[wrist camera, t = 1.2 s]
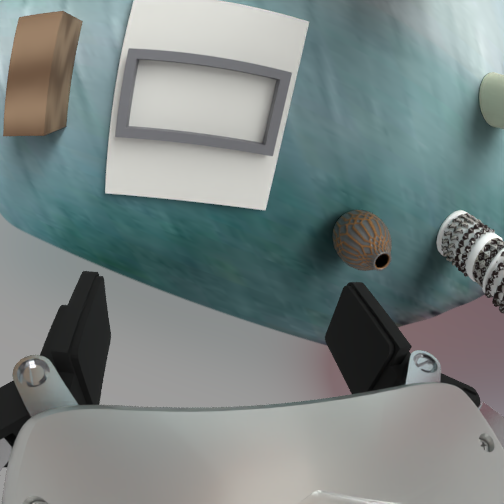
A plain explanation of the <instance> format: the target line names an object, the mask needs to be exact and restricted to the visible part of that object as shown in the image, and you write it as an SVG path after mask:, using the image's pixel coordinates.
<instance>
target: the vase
mask: <svg viewBox="0 0 504 504" xmlns="http://www.w3.org/2000/svg"><path fill="white" fill-rule="evenodd" d="M333 244H334V248H335V250H336V252H337V254H338V255H339V257H340V258H341V259H342V260H343V261H344V262H345V263H346V264H347V265H349V266H351V267H353V268H355V269H358V270H364V271H366V270H383V269H385V268H386V267H387V266H388V265H389V264H390V262H391V254H390V252H391V236H390V233H389V230H388V228H387V227H386V225H385V224H384V222H383V221H382V220H381V219H380V218H379V217H377V216H376V215H374V214H373V213H371V212H368V211H364V210H353V211H349V212H347V213H345V214H344V215H343V216H341V217H340V218H339V220H338V221H337V222H336V224H335V226H334V229H333Z"/></svg>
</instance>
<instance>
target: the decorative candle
mask: <svg viewBox="0 0 504 504" xmlns="http://www.w3.org/2000/svg"><path fill="white" fill-rule="evenodd" d="M494 233H495V232H494V230H493V229H490V228H489V227H488V226H487V225H484V224H483V223H481V221H480V220H479V219H476V218H475V217H474V216H473V215H470V214H468V213H467V212H465V211H462V210H459V211H455V212H453V213H452V214H450V215H449V216H448V217H447V218H446V219H445V221H444V222H443V223H442V225H441V227H440V229H439V232H438V235H437V241H436V244H437V250H438V251H439V252H440V253H441V255H443V256H444V257H445V256H447V258H446V260H449V261H450V262H451V261H452V265H455V266H456V267H457V268H458V270H459V271H461V272H462V273H464V276H465V277H467V276H469V277H470V278H471V279H472V280H473V281H474V282H477V283H478V284H479V285H480V286H481V287H482V288H483V292H484V293H485V295H486V296H487V297H488V298H490V297H493V304H494V306H496V307H497V306H500V307H499V310H500V312H501V313H504V241H502V238H501V237H499V236H498V235H496V234H494Z"/></svg>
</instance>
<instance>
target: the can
mask: <svg viewBox="0 0 504 504" xmlns="http://www.w3.org/2000/svg"><path fill="white" fill-rule="evenodd" d="M479 102H480V108H481V112H482V115H483V117H484V119H485V120H486V122H487V123H488V124H489V125H490V126H492V127H498V128H501V129H504V75H501V74H497V73H494V72H492V73H488V74H487V75H486V76H485V77H484V78H483V80H482V83H481V86H480V91H479Z"/></svg>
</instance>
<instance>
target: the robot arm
mask: <svg viewBox="0 0 504 504" xmlns="http://www.w3.org/2000/svg"><path fill="white" fill-rule="evenodd" d="M110 339H111V332H110V325H109V318H108V311H107V303H106V295H105V285H104V278H103V276H99V274H98V272H89V271H83V272H82V274H81V276H80V279H79V281H78V283H77V285H76V287H75V290H74V292H73V294H72V296H71V299H70V301H69V304H68V305H61V306H60V308H59V310H58V312H57V315H56V317H55V319H54V321H53V324H52V326H51V329H50V331H49V333H48V336H47V338H46V341H45V343H44V346H43V349H42V351H41V354H40V355H30V356H27V357H25V358H23V359H21V360H20V361H19V362H18V363H17V364H16V365H15V367H14V370H13V379H14V381H12V382H10V383H8V384H6V385H4V386H2V387H1V388H0V471H1V469H2V468H3V467H7V471H6V477H5V483H4V490H3V497H2V504H47V503H48V504H504V417H503V416H501V415H500V414H499V413H498V412H496V411H495V410H493V409H492V408H491V407H489V406H488V405H487V404H485V403H484V402H483V403H482V404H480V398H479V395H478V393H477V392H476V390H475V389H474V388H472V387H470V386H468V385H466V384H464V383H462V382H459V381H457V380H455V379H453V378H450V377H448V376H446V375H444V374H441V366H440V363H439V361H438V360H437V359H436V358H435V357H434V356H433V355H431V354H430V353H428V352H425V351H415V352H413V353H412V354H410V352H409V350H410V348H411V345H410V344H409V342H408V341H407V340H406V338H405V337H404V336H403V334H402V333H401V331H400V330H399V329H398V327H397V326H396V325H395V323H394V322H393V321H392V319H391V318H390V317H389V316H388V314H387V313H386V312H385V310H384V309H383V308H382V306H381V305H380V304H379V303H378V301H377V300H376V299H375V297H374V296H373V295H372V294H371V292H370V291H369V290H368V289H367V287H366V286H365V285H364V284H363V283H361V282H350V283H348V284H347V286H345V287H344V288H343V290H342V293H341V296H340V298H339V301H338V304H337V307H336V309H335V312H334V314H333V317H332V320H331V322H330V325H329V327H328V330H327V332H326V336H325V340H326V343H327V345H328V347H329V349H330V351H331V353H332V355H333V357H334V359H335V361H336V363H337V365H338V367H339V369H340V371H341V373H342V375H343V377H344V379H345V381H346V383H347V385H348V387H349V389H350V391H351V393H352V395H345V396H339V397H332V398H325V399H318V400H310V401H301V402H292V403H282V404H271V405H257V406H239V407H218V408H217V407H212V408H172V407H171V408H170V407H169V408H168V407H138V406H137V407H136V406H119V405H99V401H100V396H101V389H102V383H103V377H104V371H105V366H106V360H107V355H108V350H109V345H110Z"/></svg>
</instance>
